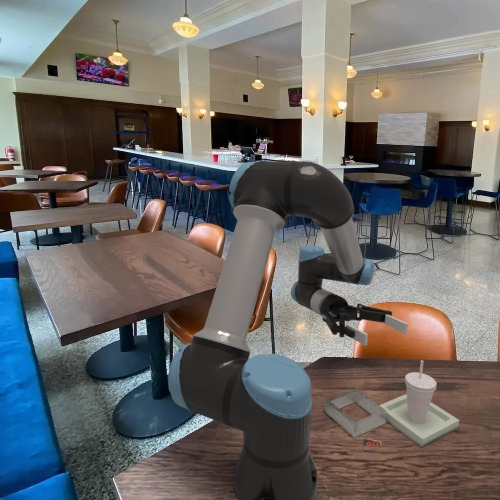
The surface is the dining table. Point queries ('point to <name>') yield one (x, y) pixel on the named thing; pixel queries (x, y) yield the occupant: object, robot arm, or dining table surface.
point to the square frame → (347, 423)
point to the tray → (425, 432)
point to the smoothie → (419, 395)
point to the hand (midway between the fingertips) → (387, 334)
